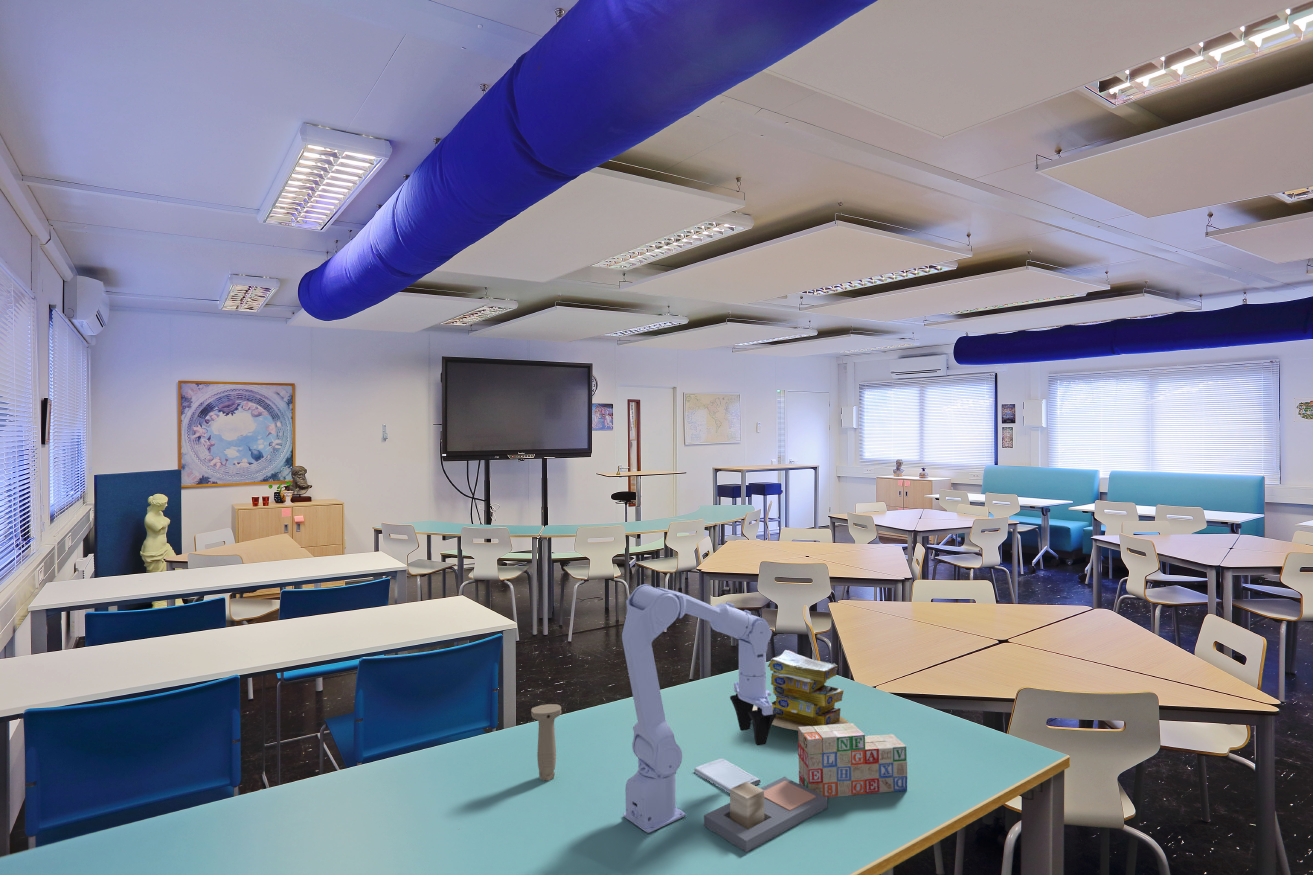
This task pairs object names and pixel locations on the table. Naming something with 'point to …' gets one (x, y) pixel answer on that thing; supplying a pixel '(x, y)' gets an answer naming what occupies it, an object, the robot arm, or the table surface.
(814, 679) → the stack of yellow boxes
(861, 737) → the stack of blocks
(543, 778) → the handle
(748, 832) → the kitting board
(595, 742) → the table surface
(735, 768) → the hard drive
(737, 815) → the maple block
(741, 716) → the robot arm
